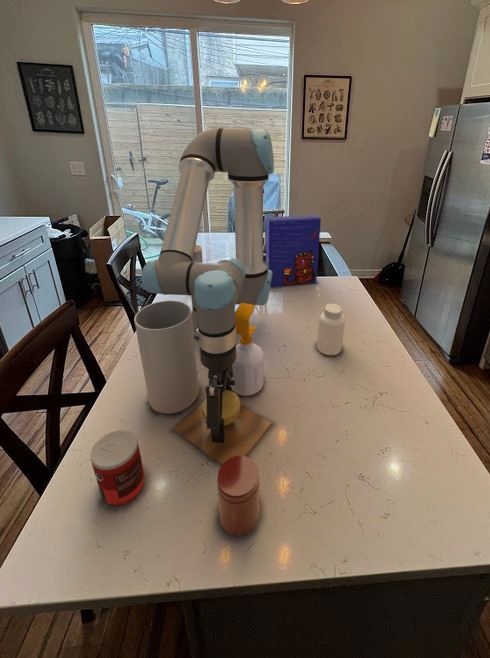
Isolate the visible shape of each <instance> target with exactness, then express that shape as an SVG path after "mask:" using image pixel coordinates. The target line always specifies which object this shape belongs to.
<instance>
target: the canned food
mask: <svg viewBox="0 0 490 658" xmlns="http://www.w3.org/2000/svg"><path fill="white" fill-rule="evenodd" d="M90 462H91V466H92V470H93V473H94V476H95V480H96V483H97V487H98V489H99V492H100V496H101V498H102V499H103V501H104V502H106V503H107V504H108V505H111V506H122V505H125V504H127V503H130V502H131V501H133V500H134V499H135V498H137V496H138V495H139V494H140V492H141V491H142V489H143V486H144V484H145V478H146V476H145V470H144V465H143V461H142V455H141V450H140V447H139V441H138V438H137V435H136V434H135V433H134V432H132V431H130V430H128V429H117V430H113V431H110V432H108V433H107V434H104V435H103V436H102V437H101V438H99V439H98V440H97V441H96V442H95V443H94V445H93V447H92V448H91V452H90Z"/></svg>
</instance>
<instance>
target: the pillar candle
mask: <svg viewBox="0 0 490 658" xmlns="http://www.w3.org/2000/svg"><path fill="white" fill-rule="evenodd" d="M202 249H203V248H202V246H201V245H198V244H196V245H195V250H194V254H193V259H192V262H196V263H204V262H203V261H204V260H203V250H202Z"/></svg>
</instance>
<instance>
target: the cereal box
mask: <svg viewBox="0 0 490 658" xmlns="http://www.w3.org/2000/svg"><path fill="white" fill-rule="evenodd" d="M321 222H322V219H321V217H320V216H318V215H317V214H311V215H310V214H309V215H288V216H266V217H265V262H266V263H267V265H268V270H271V271H272V279H271V285H270V289H272V288H281V287H291V286H302V285H311V284H312V285H313V284H317V277H318V266H319V265H318V263H319V250H320V237H321V224H322V223H321Z"/></svg>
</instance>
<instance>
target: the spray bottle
mask: <svg viewBox="0 0 490 658" xmlns="http://www.w3.org/2000/svg"><path fill="white" fill-rule="evenodd" d="M255 306H256V305H255ZM255 306H254V305H251V304H246V303H240V304H238V306H237V308H236V309H235V325H236V336H237V335H238V336H241V337H240V338H239V343H238V344H236V352H237V357H236V360H235V362H234V363H233V364H232V368H233V378H231V379H232V380H235V385H234V386H232V385H230V387H232V392H234V393H236V394H237V395H238V396H244V397H245V396H246V397H247V396H253V395H255V394H258V392H260V391H261V390H262V389H263V386H264V378H265V377H264V375H265V374H264V364H265V363H264V361H265V360H264V359H265V356H264V352H263V350H262V347H261V346H259V344H256V343H254V341H253V340H254V339H253V337H252V336H253V334H254V333H255V331H256V330H257V327H256V326H255V325H252V324H250V318H251V316H252V314H253V313H254V311H255V309H256V307H255Z"/></svg>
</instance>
